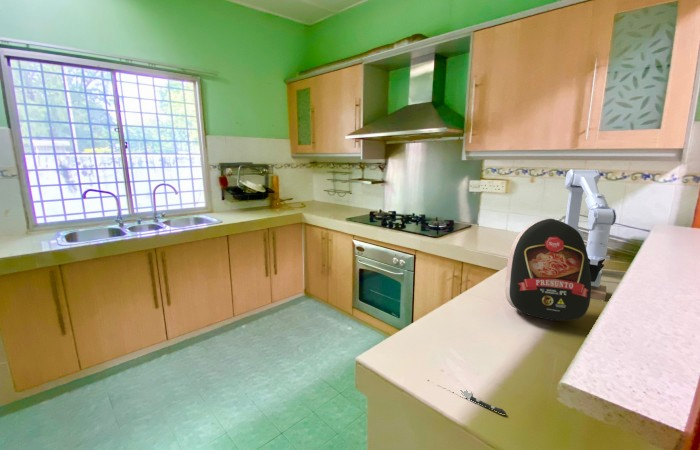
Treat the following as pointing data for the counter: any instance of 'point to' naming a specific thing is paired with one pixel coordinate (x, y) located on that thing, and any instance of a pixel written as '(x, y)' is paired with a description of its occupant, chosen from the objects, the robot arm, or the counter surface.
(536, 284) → the packaged food
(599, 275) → the grey cube
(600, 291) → the walnut block
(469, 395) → the chef's knife
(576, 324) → the counter surface
